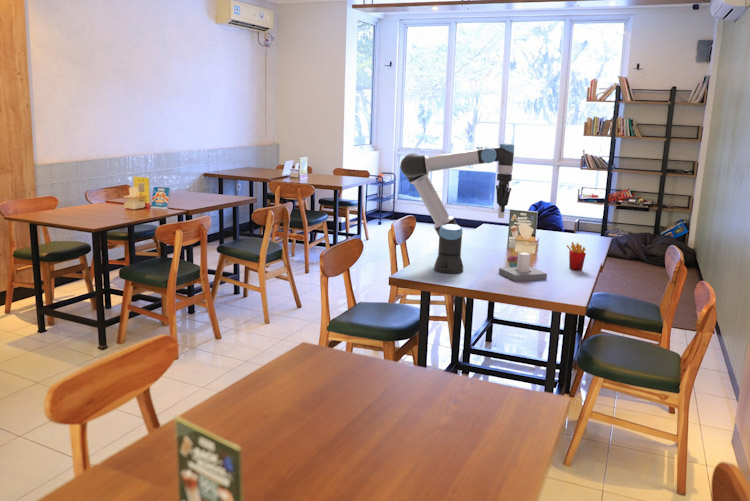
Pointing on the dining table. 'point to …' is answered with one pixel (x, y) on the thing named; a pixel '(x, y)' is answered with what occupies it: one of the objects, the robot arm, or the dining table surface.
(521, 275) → the socket
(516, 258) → the cupcake
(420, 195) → the robot arm
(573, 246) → the french fries
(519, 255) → the plug
